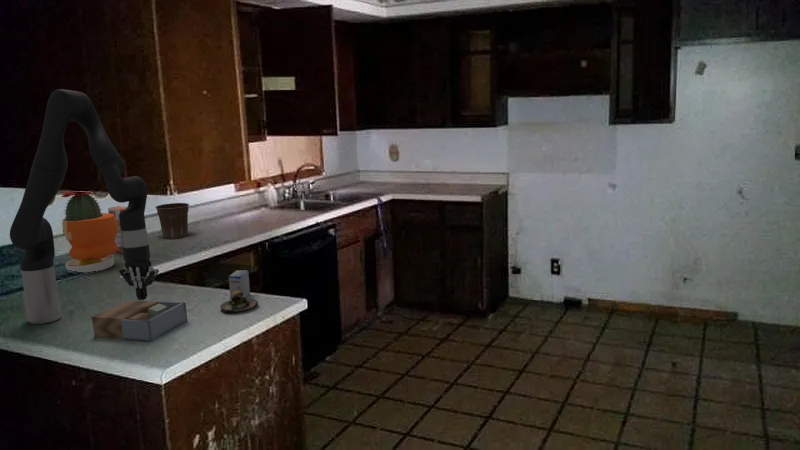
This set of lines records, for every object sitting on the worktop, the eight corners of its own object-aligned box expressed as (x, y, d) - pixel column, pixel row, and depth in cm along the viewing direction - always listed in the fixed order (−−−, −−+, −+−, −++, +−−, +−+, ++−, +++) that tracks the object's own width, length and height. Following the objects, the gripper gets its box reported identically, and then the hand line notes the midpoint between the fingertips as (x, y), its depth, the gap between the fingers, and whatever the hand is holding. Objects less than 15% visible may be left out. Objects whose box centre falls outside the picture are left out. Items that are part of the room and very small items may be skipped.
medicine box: (238, 294, 229) (235, 270, 227) (250, 293, 228) (248, 269, 227) (230, 301, 221) (228, 276, 219) (243, 300, 221) (240, 276, 219)
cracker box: (112, 251, 305) (107, 207, 301) (124, 249, 310) (119, 205, 306) (130, 254, 298) (124, 209, 293) (142, 252, 302) (136, 207, 298)
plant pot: (192, 237, 330) (189, 206, 327) (158, 241, 325) (154, 209, 322) (192, 232, 345) (188, 201, 342) (159, 235, 340) (156, 204, 337)
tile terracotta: (127, 318, 190) (136, 318, 189) (138, 312, 194) (147, 313, 193) (129, 334, 190) (138, 335, 190) (140, 328, 195) (149, 329, 194)
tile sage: (148, 308, 196) (156, 311, 195) (159, 303, 201) (167, 306, 200) (146, 323, 197) (154, 326, 197) (156, 317, 202) (165, 321, 201)
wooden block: (94, 336, 192) (91, 316, 191) (131, 318, 207) (128, 300, 206) (125, 338, 189) (123, 318, 188) (160, 320, 204) (158, 301, 203)
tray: (123, 340, 188) (120, 320, 187) (162, 319, 205) (160, 300, 204) (149, 342, 185) (147, 321, 184) (187, 320, 202) (185, 302, 201)
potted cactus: (55, 274, 268) (42, 189, 261) (89, 260, 289) (78, 182, 283) (103, 274, 264) (92, 188, 258) (134, 260, 286) (124, 181, 279)
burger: (222, 317, 205) (220, 294, 204) (218, 307, 216) (216, 285, 214) (261, 311, 209) (259, 288, 208) (255, 301, 220) (253, 280, 219)
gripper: (108, 246, 194) (115, 302, 197) (145, 247, 190) (152, 304, 193) (125, 240, 201) (132, 294, 204) (161, 241, 197) (168, 296, 201)
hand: (142, 299), depth 199 cm, fingers closed
